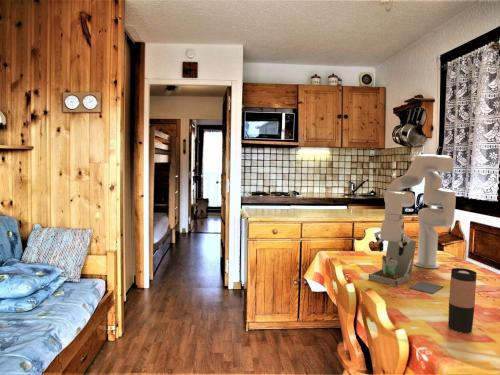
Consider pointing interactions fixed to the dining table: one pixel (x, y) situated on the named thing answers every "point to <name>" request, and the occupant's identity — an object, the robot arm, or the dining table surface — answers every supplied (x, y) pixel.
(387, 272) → the food container
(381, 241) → the robot arm
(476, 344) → the dining table surface
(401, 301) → the dining table surface
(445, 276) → the dining table surface
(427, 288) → the mat
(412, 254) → the case
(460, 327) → the travel mug
